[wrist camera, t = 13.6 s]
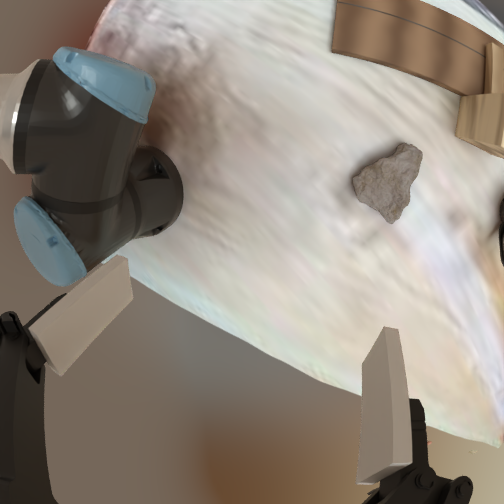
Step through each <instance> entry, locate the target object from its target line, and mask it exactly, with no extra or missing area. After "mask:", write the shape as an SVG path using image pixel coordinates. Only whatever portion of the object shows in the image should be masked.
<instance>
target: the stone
mask: <svg viewBox="0 0 504 504" xmlns="http://www.w3.org/2000/svg"><path fill="white" fill-rule="evenodd" d="M422 156H423V154H422V151H421V150H418V148H417V147H415V146H413V145H412V144H410V145H407V144H406V143H403V144H401V145H399V146H398V147H397V149H396V152H395V153H394V154H393V155H392V156H390V157H388V158H381V159H380V160H378V162H376V163H374V164H372V165H371V166H367V167H365V168H364V169H363V170H362V171H361V172H360V174H359V175H358V176H355V177H353V185H354V188H355V192H356V196H357V198H358V200H359V201H360V202H361V203H366V204H367V205H368V206H370V207H372V208H374V209H375V210H378V211H379V212H380V214H381V215H382V216H383V217H384V218H385V220H386V221H387V222H388V223H390V224H393V223H394V222H395V220H398V219H399V218H400V216H401V213H402V211H403V209H404V208H405V207H406V206H407V205H408V204H409V202H410V186H411V184H412V183H413V181H414V180H415V179H416V177H417V175H418V173H419V168H420V164H421V161H422Z"/></svg>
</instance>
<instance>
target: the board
mask: <svg viewBox="0 0 504 504" xmlns="http://www.w3.org/2000/svg"><path fill="white" fill-rule="evenodd" d="M489 43H494V44H496V45H497V46H499V47H500V48H502V49H503V58H504V45H503V44H502V43H500V42H499V41H497V40H496V39H494V38H493V37H491V36H490V35H488V34H487V33H485V32H483V31H482V30H480V29H478V28H476V27H475V26H473V25H471V24H469V23H468V22H466V21H464V20H462V19H460V18H458V17H456V16H454V15H452V14H450V13H448V12H446V11H444V10H441V9H439V8H437V7H435V6H432V5H430V4H428V3H425V2H423V1H420V0H337V8H336V18H335V28H334V36H333V45H332V53H336V54H341V55H346V56H350V57H355V58H359V59H363V60H367V61H370V62H374V63H377V64H381V65H384V66H387V67H391V68H394V69H397V70H400V71H403V72H406V73H408V74H411V75H414V76H417V77H419V78H422V79H424V80H427V81H429V82H432V83H434V84H436V85H439V86H441V87H443V88H445V89H448V90H450V91H452V92H454V93H456V94H458V95H460V96H471V95H480V94H484V91H485V73H486V45H487V44H489ZM503 93H504V78H503Z"/></svg>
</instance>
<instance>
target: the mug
mask: <svg viewBox="0 0 504 504" xmlns="http://www.w3.org/2000/svg"><path fill="white" fill-rule="evenodd" d="M500 216H501V220H502V223H501V225H500V227H499V244H500V256H501V262H502V264H503V266H504V199H503V201H502V203H501V207H500Z"/></svg>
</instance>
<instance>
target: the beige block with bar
mask: <svg viewBox="0 0 504 504" xmlns="http://www.w3.org/2000/svg"><path fill="white" fill-rule="evenodd" d="M503 78H504V58H503V49H502V48H500V47H499V46H497V45H496V44H494V43H489V44H487V45H486V73H485V91H484V94H480V95H471V96H462V97H461V99H460V107H459V114H458V121H457V127H456V132H455V136H456V137H458V138H460V139H462V140H464V141H466V142H468V143H470V144H472V145H474V146H476V147H478V148H480V149H482V150H484V151H486V152H487V153H489V154H491V155H494V156H497V157H500V158H503V159H504V93H503Z"/></svg>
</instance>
